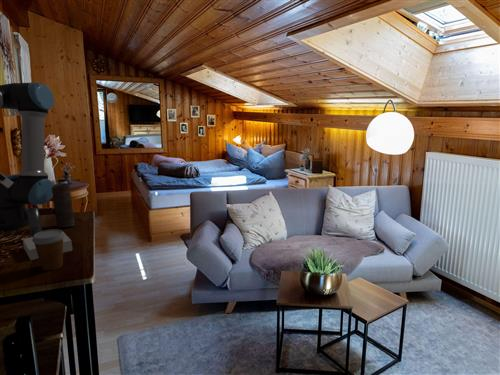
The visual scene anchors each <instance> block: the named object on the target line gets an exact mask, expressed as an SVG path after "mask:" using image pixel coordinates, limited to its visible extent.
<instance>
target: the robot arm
mask: <svg viewBox="0 0 500 375" xmlns="http://www.w3.org/2000/svg"><path fill="white" fill-rule="evenodd" d="M54 105H55V96H54V94H53V91H52V90H51V89H50V87H49V86H48V85H46V84H45V83H41V82H34V81H33V82H11V83H5V84H1V85H0V109H1V110H2V109H3V110H4V109H5V110H7V109H8V110H17V113H18V114H19V115H20V116H21V171H20V172H19V173H15V174H8V175H4V174H3V173H2V172H0V230H10V229H17V228H21V227H24V226H27V225H30V224H29V217H28V211H27V209H28V208H27V207H26V205H32V206H41V205H45V204H48V203H49V202H50V201H51V199H53V194H52V187H53V186H55V185H54V183H53V181H52V180H50V179H49V174H48V173H47V172H45V171H46V170H45V118H46V117H47V116H49V110H51V109H52V108H53V107H54Z"/></svg>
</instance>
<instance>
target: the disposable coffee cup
mask: <svg viewBox="0 0 500 375" xmlns="http://www.w3.org/2000/svg"><path fill="white" fill-rule="evenodd" d="M62 231H63V230H61V229H47V230H46V229H45V230H42V231H41V232H38V233H36V234H35V235H33V239H32V241H33V243H34V244H35V247H36V250H37V253H38V257H39V258H38V260H39V263H40V266H41V269H42V270H43V271H53V270H57V269H60V268H61V267H63V265H64V264H63V263H64V262H63V260H64V253H63V238H64V234H63V232H64V231H63V232H62Z"/></svg>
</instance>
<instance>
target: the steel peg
mask: <svg viewBox="0 0 500 375" xmlns="http://www.w3.org/2000/svg"><path fill="white" fill-rule="evenodd" d="M27 211H28V217H29V224H28V225H29V230H30V231H29V232H30V237H33V235H35V234H36V233H38V232H41V231H43V230H42V228H43V227H42V222H41V215H40V207H29V208H27Z"/></svg>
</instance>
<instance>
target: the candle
mask: <svg viewBox="0 0 500 375" xmlns="http://www.w3.org/2000/svg"><path fill="white" fill-rule="evenodd" d="M52 194H53V196H52V201H53V207H54V216H55V223H56V224H55V225H56V227H59V228H68V227H74V226H75V225H76V224H75V216H74V210H73V204H72V203H73V202H72V195H71V187H70V183H56V184H55V185H54V186H53V187H52Z"/></svg>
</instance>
